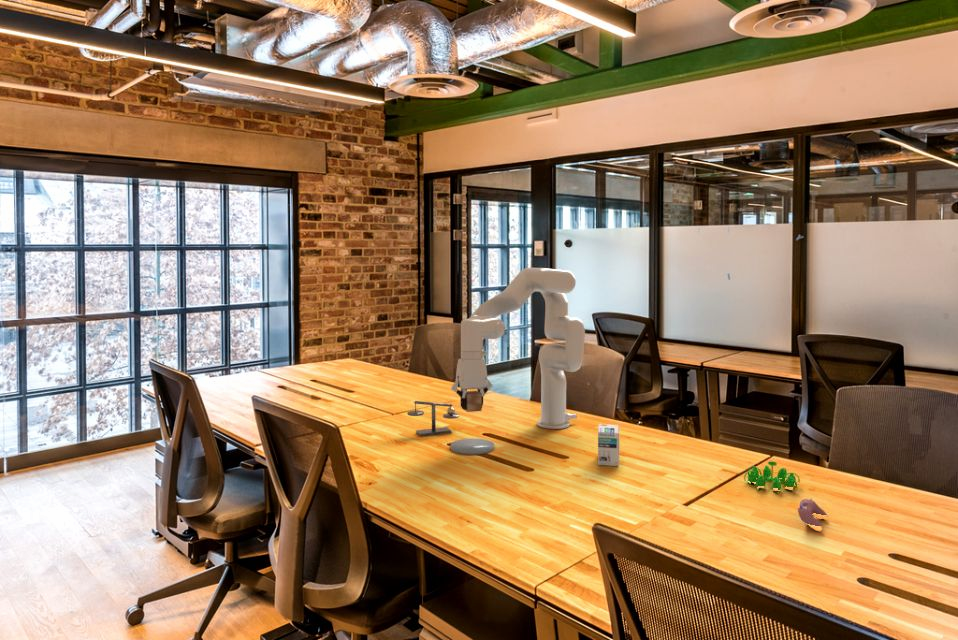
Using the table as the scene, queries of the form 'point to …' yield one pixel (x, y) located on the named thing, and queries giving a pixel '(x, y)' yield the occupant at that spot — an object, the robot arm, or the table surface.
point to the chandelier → (769, 472)
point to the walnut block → (474, 401)
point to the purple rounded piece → (809, 512)
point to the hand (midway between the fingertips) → (471, 407)
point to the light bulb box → (608, 445)
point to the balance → (434, 418)
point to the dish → (472, 446)
